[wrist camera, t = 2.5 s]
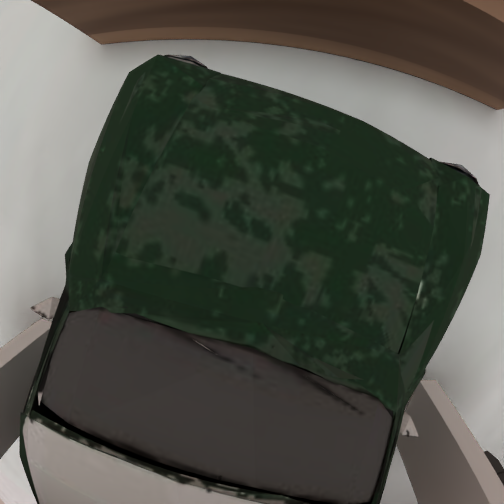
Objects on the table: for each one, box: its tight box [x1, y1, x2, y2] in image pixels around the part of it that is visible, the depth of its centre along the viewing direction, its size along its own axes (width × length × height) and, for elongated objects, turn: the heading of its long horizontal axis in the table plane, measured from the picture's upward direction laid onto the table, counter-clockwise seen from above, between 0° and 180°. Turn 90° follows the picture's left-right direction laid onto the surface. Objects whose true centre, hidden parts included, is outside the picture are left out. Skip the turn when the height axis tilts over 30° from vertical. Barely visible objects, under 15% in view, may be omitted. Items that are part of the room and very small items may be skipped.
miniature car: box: [20, 55, 490, 504], centre depth 7 cm, size 9×18×8 cm, turn 160°
